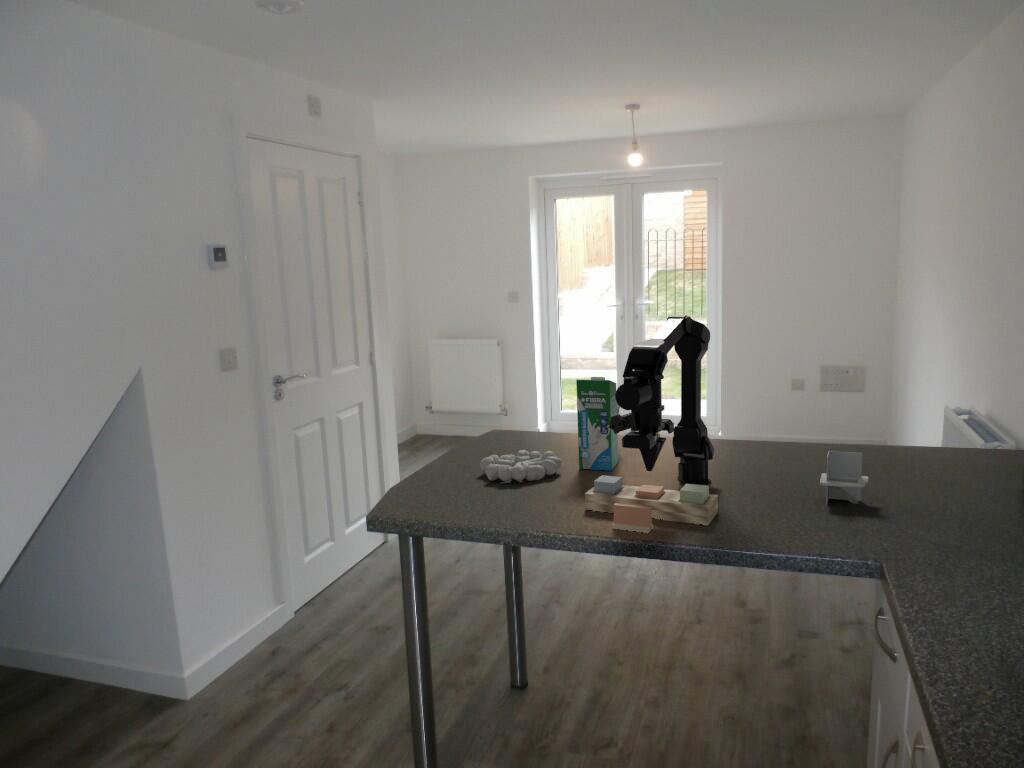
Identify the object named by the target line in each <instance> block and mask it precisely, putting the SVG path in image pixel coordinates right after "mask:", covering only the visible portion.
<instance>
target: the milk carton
mask: <svg viewBox="0 0 1024 768" xmlns="http://www.w3.org/2000/svg"><path fill="white" fill-rule="evenodd" d="M575 381H576V382H575V383H576V407H577V409H576V410H577V439H578V440H577V441H578V442H577V443H578V470H580V469H591V470H590V471H599V470H605V471H604V472H612V471H613V470H614V468H615V467H616V466H617V464H618V463H619V447H618V446H619V445H618V442H619V441H618V437H619V436H618V433H617V434H614V431H613V430H612V429H610V428H609V425H610V423H609V421H611V417H612V416H615V415H617V402H616V398H615V393H616V391H617V383H616V381H615V382H614V381H612V380H610V379H606V377H603V376H591V377H590V379H576V380H575Z"/></svg>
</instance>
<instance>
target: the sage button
mask: <svg viewBox="0 0 1024 768" xmlns="http://www.w3.org/2000/svg"><path fill="white" fill-rule="evenodd" d="M709 489H710V486H709V485H705V484H685V483H684V485H683V486H682V488H680V490H679V491H680V502H687V503H696V504H705V503H706V502H707V501H708V499H709V494H710V490H709Z"/></svg>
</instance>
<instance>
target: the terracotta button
mask: <svg viewBox="0 0 1024 768" xmlns="http://www.w3.org/2000/svg"><path fill="white" fill-rule="evenodd" d="M638 487H639V488H638V489H637V490H636V497H642V498H651V499H660V498H661V497H662V496H663V495H664V489H665V486H663V485H662V486H661V485H651V484H641V485H640V486H638Z"/></svg>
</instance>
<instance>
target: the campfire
mask: <svg viewBox="0 0 1024 768" xmlns="http://www.w3.org/2000/svg"><path fill="white" fill-rule="evenodd" d="M562 463H563V462H562V459H561V458H559V457H557V455H556V454H555V453H554V452H553V451H551V450H547V451H544V453H543V454H542V453H541V452H540V451H537V450H533V451H530V452H529V451H528V450H526V449H521V450H518V451H517V454H516V455H515V454H511V453H510V454H502V455H501V456H499V455H497V454H491V455H489V456H486V457H484V458H483V459H482V460H481V461H480V462H479V467H480V469H481V471H482V472H485V476H486V478H487V479H488V480H489V481H496V480H498V479H500V481H503V482H507V481H510V480H512V479H514V480H515V481H517V482H522V481H523V480H527V481H529V482H530V481H531V482H532V481H540V480H542V479H543V478H544V477H545V475H547V476H552V475H554V474H556V472H557V471H558V470H560V468H561V466H562Z"/></svg>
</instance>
